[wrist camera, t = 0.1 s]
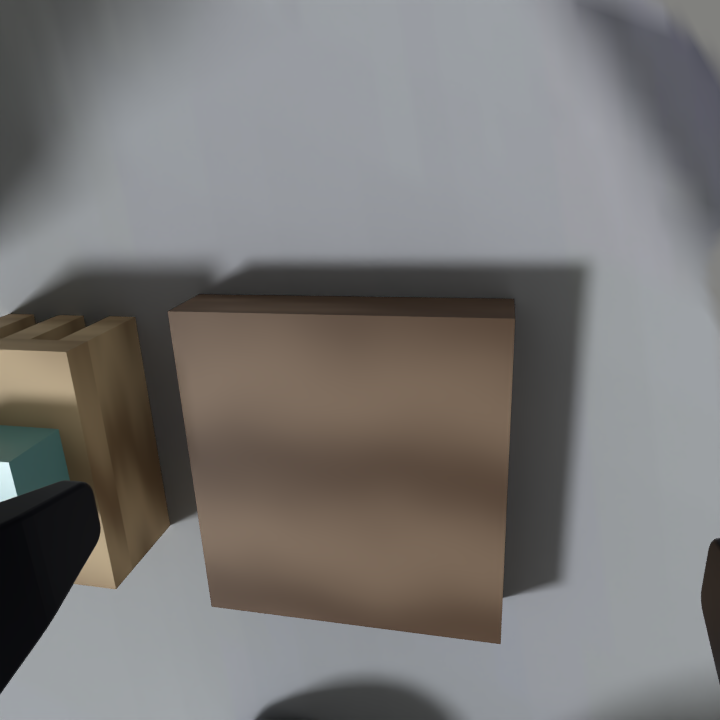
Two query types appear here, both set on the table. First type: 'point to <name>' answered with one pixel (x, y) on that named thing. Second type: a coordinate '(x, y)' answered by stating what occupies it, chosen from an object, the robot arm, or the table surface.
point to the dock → (351, 455)
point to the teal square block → (29, 460)
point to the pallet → (91, 425)
